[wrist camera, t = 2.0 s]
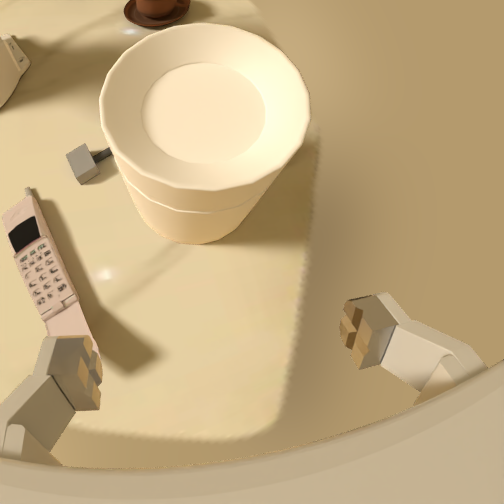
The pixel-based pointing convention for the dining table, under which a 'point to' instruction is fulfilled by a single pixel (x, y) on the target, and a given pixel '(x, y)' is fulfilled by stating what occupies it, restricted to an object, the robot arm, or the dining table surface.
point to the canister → (202, 126)
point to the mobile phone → (44, 270)
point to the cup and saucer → (155, 11)
